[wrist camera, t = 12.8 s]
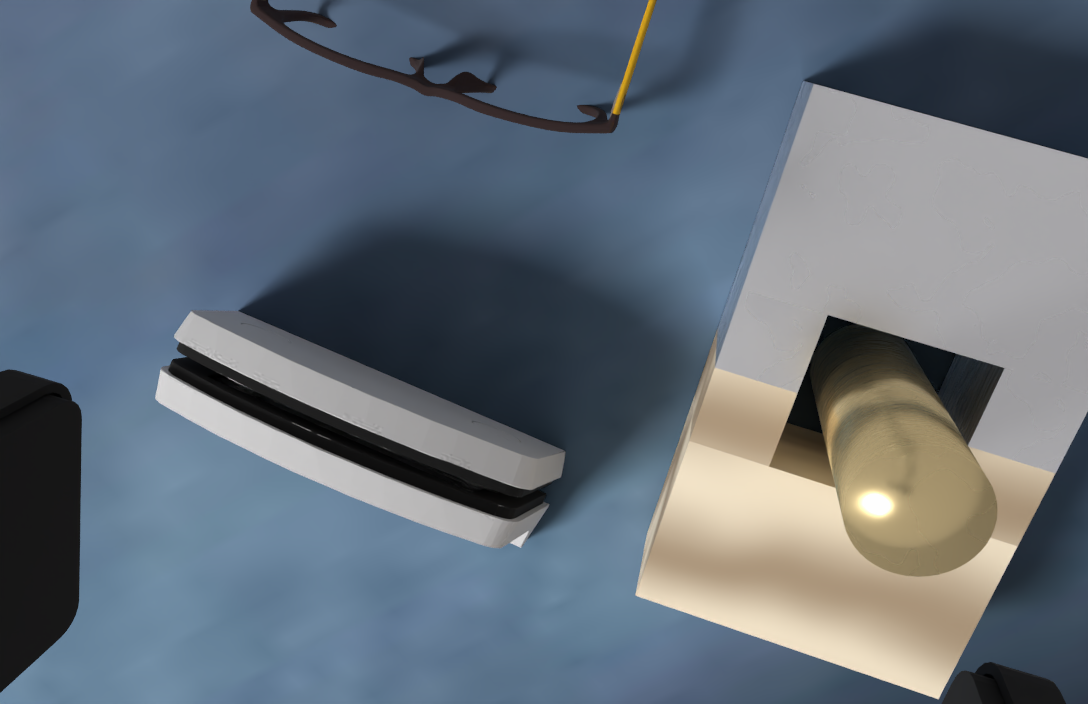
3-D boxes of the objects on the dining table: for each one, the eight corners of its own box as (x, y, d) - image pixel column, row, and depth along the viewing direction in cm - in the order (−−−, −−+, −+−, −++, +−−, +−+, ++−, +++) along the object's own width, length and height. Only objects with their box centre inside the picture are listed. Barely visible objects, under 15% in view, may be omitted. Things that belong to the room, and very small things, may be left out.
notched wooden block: (717, 328, 36) (714, 367, 32) (1013, 418, 35) (1055, 473, 31) (647, 533, 40) (635, 595, 35) (913, 622, 39) (938, 698, 34)
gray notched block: (802, 80, 33) (814, 83, 28) (1134, 170, 32) (1202, 190, 27) (717, 328, 36) (714, 367, 32) (1013, 418, 35) (1055, 473, 31)
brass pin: (830, 310, 35) (874, 426, 24) (931, 340, 35) (1023, 473, 24) (796, 400, 37) (821, 549, 26) (892, 430, 36) (961, 595, 25)
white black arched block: (210, 402, 43) (87, 415, 33) (247, 310, 42) (136, 295, 32) (532, 544, 41) (508, 602, 31) (572, 449, 41) (560, 478, 31)
